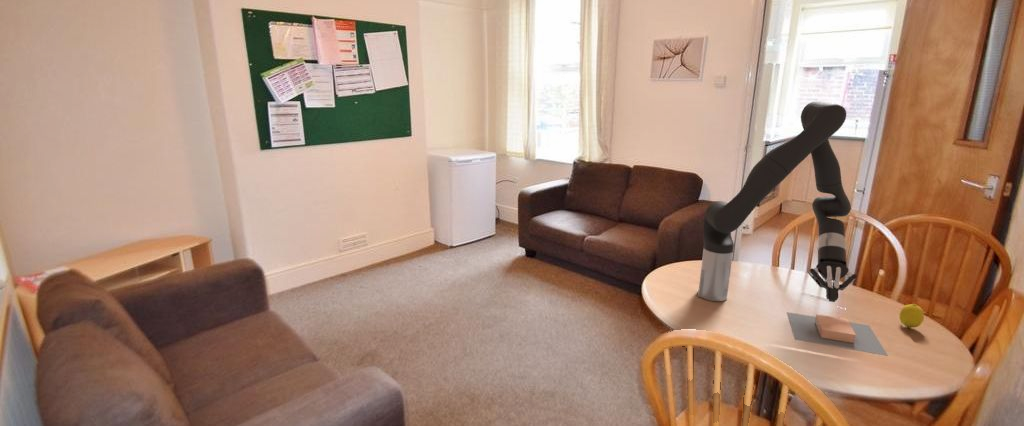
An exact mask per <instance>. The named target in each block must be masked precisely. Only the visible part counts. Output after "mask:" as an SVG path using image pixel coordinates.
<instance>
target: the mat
mask: <svg viewBox="0 0 1024 426" xmlns="http://www.w3.org/2000/svg"><path fill="white" fill-rule="evenodd" d="M786 314H787V319H788V321H789V325H790V328H791V331H792V334H793V335H792V336H793V337H794V340H797V341H803V342H807V343H813V344H818V345H824V346H831V347H836V348H840V349H841V348H842V349H846V350H853V351H858V352H864V353H871V354H877V355H880V356H886V357H888V356H889V355H888V353H887V352H886V350H885V349H884V347H883V345H882V343H881V342H880V340H879V339H878V337H877V335H876V334H875V332H874V330H873V329H872V328H871V326H870V325H868V324H865V323H864V324H863V323H857V322H856V323H855V322H849V321H848V322H849V323H850V325H851V327H852V329H853V331H854V333H855V334H856V337H855V341H854V343H850V342H844V341H838V340H832V339H826V338H822V337H821V336H820V333H819V331H818V329H817V326H816V324H815V317H816V316H814V315H813V316H812V315H806V314H800V313H793V312H788V311H786Z"/></svg>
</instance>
